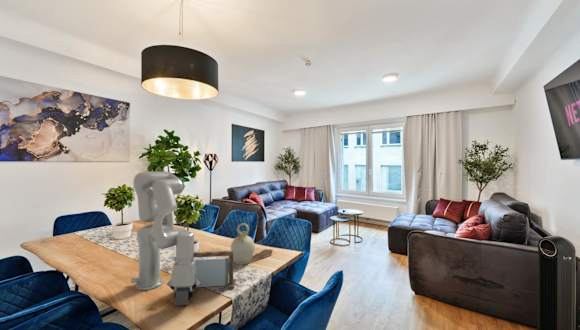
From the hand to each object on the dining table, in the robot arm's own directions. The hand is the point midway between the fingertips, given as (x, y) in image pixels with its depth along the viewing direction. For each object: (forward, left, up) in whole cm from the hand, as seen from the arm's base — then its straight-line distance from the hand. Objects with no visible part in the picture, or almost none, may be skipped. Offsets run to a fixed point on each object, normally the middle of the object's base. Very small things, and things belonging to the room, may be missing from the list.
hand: (183, 298), depth 106 cm
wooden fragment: (+37, +52, -3) cm, 63 cm away
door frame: (+8, +14, -2) cm, 16 cm away
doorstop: (0, +4, -1) cm, 4 cm away
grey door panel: (+8, +14, -2) cm, 16 cm away
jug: (+24, +45, -2) cm, 51 cm away
